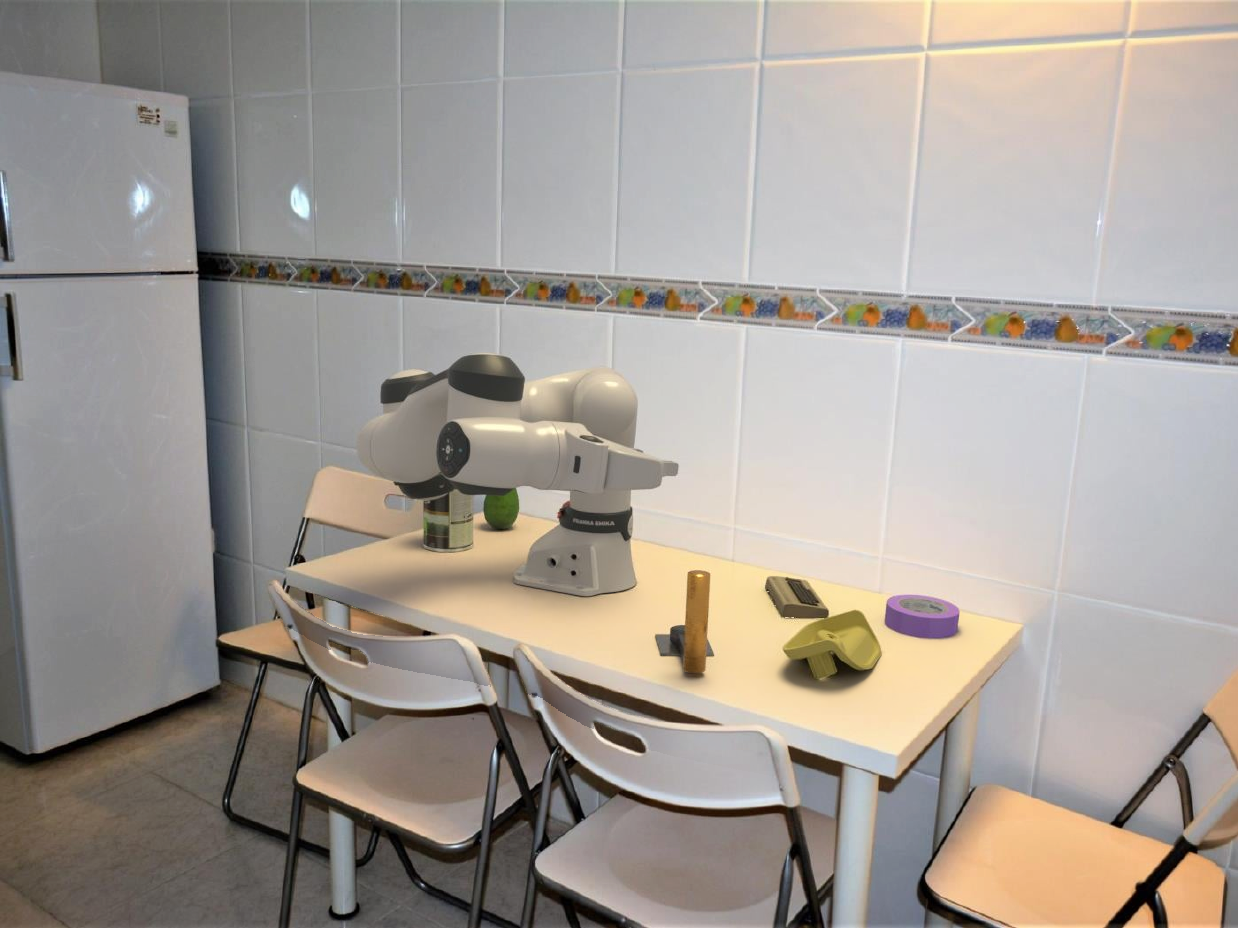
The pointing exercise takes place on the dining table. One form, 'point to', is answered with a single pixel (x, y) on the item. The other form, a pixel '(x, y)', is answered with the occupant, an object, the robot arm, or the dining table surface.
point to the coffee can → (448, 522)
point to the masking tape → (921, 616)
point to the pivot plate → (674, 646)
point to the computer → (795, 598)
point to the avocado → (501, 509)
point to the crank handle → (694, 623)
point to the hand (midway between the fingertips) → (657, 462)
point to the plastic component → (835, 643)
